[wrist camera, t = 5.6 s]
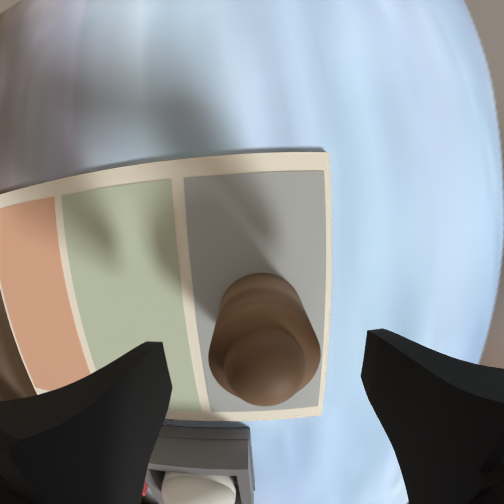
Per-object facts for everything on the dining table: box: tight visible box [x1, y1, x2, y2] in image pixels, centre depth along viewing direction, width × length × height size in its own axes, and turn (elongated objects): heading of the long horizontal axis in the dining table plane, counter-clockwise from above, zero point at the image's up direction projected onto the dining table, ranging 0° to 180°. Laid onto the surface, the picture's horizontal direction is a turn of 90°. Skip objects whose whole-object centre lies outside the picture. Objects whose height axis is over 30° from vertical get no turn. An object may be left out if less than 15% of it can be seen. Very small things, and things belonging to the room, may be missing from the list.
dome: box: [161, 471, 237, 504], centre depth 14 cm, size 5×5×5 cm
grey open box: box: [142, 425, 255, 504], centre depth 15 cm, size 7×11×4 cm, turn 93°
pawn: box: [208, 273, 321, 406], centre depth 11 cm, size 4×4×6 cm
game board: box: [0, 152, 332, 421], centre depth 14 cm, size 15×21×1 cm
